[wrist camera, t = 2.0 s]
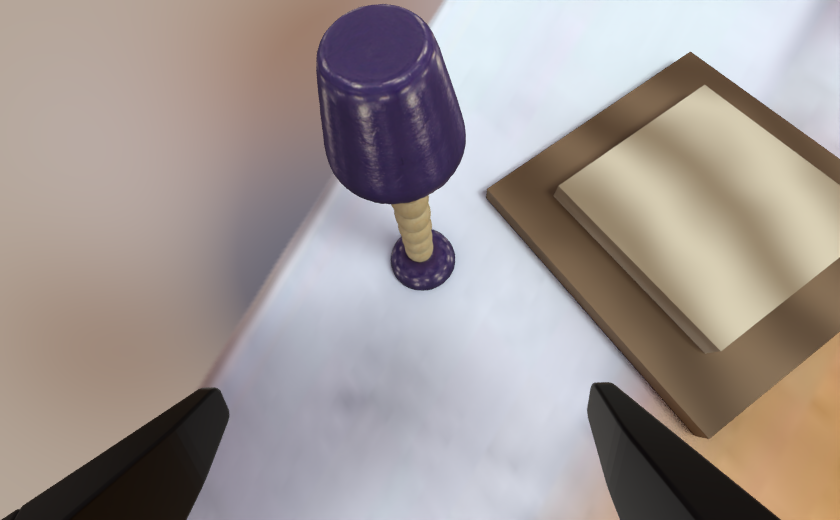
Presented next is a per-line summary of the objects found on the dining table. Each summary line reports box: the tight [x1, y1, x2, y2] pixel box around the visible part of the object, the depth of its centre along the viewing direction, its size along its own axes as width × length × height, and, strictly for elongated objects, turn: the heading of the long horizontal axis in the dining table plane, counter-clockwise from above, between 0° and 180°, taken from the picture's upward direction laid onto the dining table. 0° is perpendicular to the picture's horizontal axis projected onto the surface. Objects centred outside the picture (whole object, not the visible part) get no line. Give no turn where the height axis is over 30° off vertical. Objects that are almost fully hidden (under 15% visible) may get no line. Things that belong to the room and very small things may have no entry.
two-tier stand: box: [486, 52, 840, 439], centre depth 22 cm, size 18×18×2 cm
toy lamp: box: [316, 4, 466, 290], centre depth 17 cm, size 5×5×17 cm
